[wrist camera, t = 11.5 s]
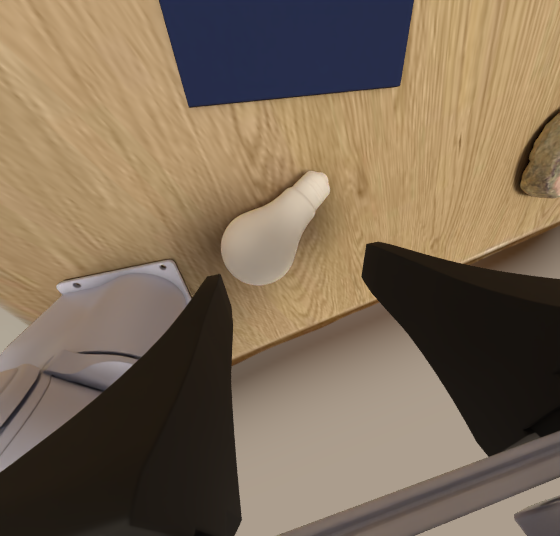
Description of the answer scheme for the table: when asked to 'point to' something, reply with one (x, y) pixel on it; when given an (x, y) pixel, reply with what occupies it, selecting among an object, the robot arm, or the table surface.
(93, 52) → the table surface
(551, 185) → the stone ring
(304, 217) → the lightbulb
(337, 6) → the cloth
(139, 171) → the table surface
